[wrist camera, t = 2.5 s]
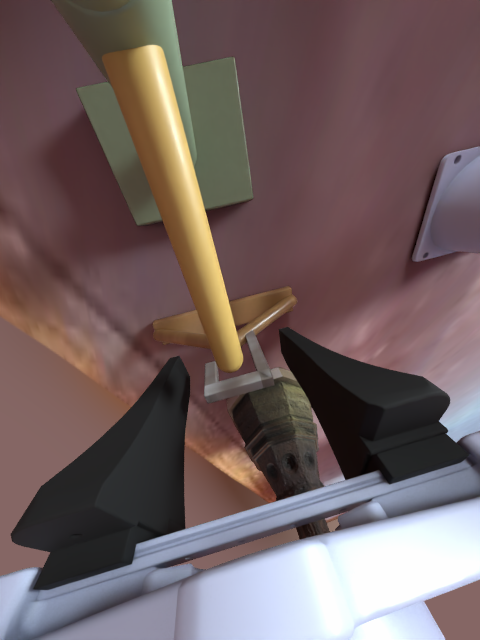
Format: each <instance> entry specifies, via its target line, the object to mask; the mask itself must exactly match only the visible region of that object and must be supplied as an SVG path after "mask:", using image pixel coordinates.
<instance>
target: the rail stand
mask: <svg viewBox="0 0 480 640" xmlns="http://www.w3.org/2000/svg"><path fill="white" fill-rule="evenodd" d="M51 1H52V3H53V4H54V5H55V7H56V8H57V10H58V11H59V13H60V14H61V15H62V17H63V18H64V20H65V21H66V23H67V24H68V25H69V27H70V28H71V30H72V31H73V32H74V34H75V35H76V37H77V38H78V40H79V41H80V42H81V44H82V45H83V47H84V48H85V50H86V51H87V52H88V54H89V55H90V57H91V58H92V60H93V61H94V62H95V64H96V65H97V67H98V68H99V70H100V71H101V72H102V74H103V75H104V77H105V78H106V80H107V81H108V82H104V83H99V84H94V85H89V86H84V87H79V88H76V91H77V93H78V96H79V98H80V100H81V102H82V105H83V107H84V109H85V111H86V114H87V116H88V118H89V120H90V122H91V125H92V127H93V129H94V131H95V134H96V136H97V138H98V140H99V142H100V145H101V147H102V149H103V151H104V154H105V156H106V158H107V160H108V162H109V165H110V167H111V169H112V171H113V174H114V176H115V178H116V180H117V183H118V185H119V187H120V189H121V191H122V194H123V196H124V198H125V200H126V203H127V205H128V207H129V209H130V211H131V214H132V216H133V218H134V220H135V223H136V225H137V226H144V225H149V224H153V223H157V222H161V221H163V223H164V226H165V228H166V231H167V234H168V236H169V239H170V241H171V244H172V247H173V249H174V252H175V255H176V257H177V260H178V263H179V265H180V268H181V271H182V273H183V276H184V279H185V281H186V284H187V287H188V289H189V292H190V295H191V297H192V300H193V303H194V305H195V308H196V310H197V313H198V316H199V318H200V321H201V324H202V326H203V329H204V332H205V334H206V337H207V340H208V342H209V345H210V348H211V350H212V353H213V356H214V358H215V361H216V364H217V366H218V367H219V369H220V370H222V371H223V372H226V373H232V372H235V371H237V370H238V369H239V368H240V367H241V365H242V363H243V354H242V350H241V347H240V343H239V339H238V335H237V331H236V327H235V323H234V320H233V316H232V312H231V308H230V304H229V300H228V297H227V293H226V289H225V285H224V281H223V277H222V274H221V270H220V266H219V262H218V258H217V254H216V250H215V247H214V243H213V239H212V235H211V231H210V227H209V224H208V220H207V216H206V212H205V211H208V210H213V209H217V208H221V207H225V206H230V205H234V204H238V203H242V202H247V201H250V200H252V199H253V191H252V183H251V176H250V168H249V161H248V153H247V146H246V139H245V131H244V124H243V116H242V109H241V101H240V94H239V86H238V79H237V72H236V64H235V58H234V57H228V58H223V59H218V60H214V61H209V62H204V63H199V64H194V65H189V66H184V67H182V61H181V55H180V48H179V42H178V36H177V30H176V24H175V18H174V12H173V6H172V0H51Z"/></svg>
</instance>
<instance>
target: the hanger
mask: <svg viewBox="0 0 480 640" xmlns="http://www.w3.org/2000/svg"><path fill="white" fill-rule="evenodd" d="M229 304H230V308H231V312H232V316H233V320H234V323H235V326H238V325H242V324H245V323H248V324H247V325H246V326H244V327H243V328H241V329H240V330H238V331H237V335H238V339H239V343H240V347H242V346H243V345H244V344H245V343H247V344H248V347H249V350H250V353H251V356H252V359H253V362H254V365H255V368H256V372H252V373H248V374H245V375H241V376H237V377H234V378H230V379H226V380H223V381H219V376H218V367H217V364H216V362H215V361H214V362H210V363H206V364H205V384H204V397H205V399H206V401H207V403H212V402H216V401H219V400H223V399H227V398H230V397H234V396H237V395H241V394H245V393H248V392H252V391H255V390H259V389H262V388H266V387H270V386H274V379H273V375H272V373H271V370H270V368H269V366H268V363H267V361H266V359H265V356H264V354H263V352H262V349H261V347H260V345H259V342H258V340H257V338H256V335H257V334H258V333H260V332H261V331H262V330H263V329H265V328H266V327H267V326H269V325H270V324H271V323H273V322H274V321H275V320H276V319H278V318H279V317H280V316H282V315H283V314H284V313H287V312H291V311H293V306H294V305H296V304H297V299H296V297H295V296H294V295H292V289H291V288H290V287H289V286H287V287H283V288H279V289H276V290H272V291H268V292H264V293H260V294H256V295H252V296H248V297H244V298H240V299H237V300H233V301H229ZM249 322H250V323H249ZM152 325H153V327H154V329H155V331H154V333H153V338H154V339H155V340H156V341H161V342H162V343H163V345H165V344H169V343H174V344H181V345H187V346H193V347H200V348H206V349H211V348H210V345H209V342H208V340H207V337H206V334H205V332H204V329H203V326H202V324H201V321H200V318H199V316H198V313H197V310H194V311H190V312H186V313H182V314H178V315H174V316H170V317H166V318H163V319H159V320H155V321H154V322H153V324H152Z"/></svg>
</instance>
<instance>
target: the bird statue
mask: <svg viewBox="0 0 480 640" xmlns="http://www.w3.org/2000/svg"><path fill="white" fill-rule="evenodd" d="M271 373H272V375H273V379H274V386H270V387H266V388H262V389H259V390H255V391H252V392H248V393H245V394H241V395H237V396H234V397H230V398H228V400H227V410H228V413H229V415H230V417H231V418H232V420H233V422H234V424H235V426H236V428H237V430H238V431H239V433H240V435H241V436H242V438H243V440H244V442H245V447H244V448H245V449H246V451H247V453H248V455H249V457H250V459H251V460H252V462H254V464H255V466H256V467H257V469H258V470H259V471H262V472H263V474H264V476H265V477H266V479H267V481H268V482H269V484H270V486H271V487H272V489H273V491H274V492H275V494H276V496H277V498H276V501H279V500H282V499H286V498H289V497H292V496H295V495H299V494H302V493H305V492H308V491H312V490H315V489H318V488H322V487H324V485H323V484H322V483H321V482H320V480H319V471H318V462H317V454H316V452H317V451H318V450H319V447H318V434H317V425H316V424H315V423H313V416H312V411H311V407H312V406H311V404H310V402H309V400H308V398H307V396H306V394H305V393H304V391H303V390H302V388H301V386H300V385H299V383H298V382H297V380H296V378H295V377H294V375H293V374H292V372H291V371H288V370H285V369H282V368H279V367H277V368H274V369H271ZM296 529H297V532H298V535H299V539H304V538H308V537H312V536H316V535H320V534H324V533H329V532H330V531H329V528H328V526H327V523H326V521H325V519H322V520H318V521H315V522H312V523H309V524H305V525H302V526H299V527H296Z"/></svg>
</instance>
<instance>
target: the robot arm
mask: <svg viewBox="0 0 480 640" xmlns="http://www.w3.org/2000/svg"><path fill="white" fill-rule="evenodd" d="M458 251H462V252H472V253H480V146H479V147H475V148H470V149H466V150H462V151H458V152H453V153H450V154H447V155H446V156H445V157H443V159H442V160H441V162H440V165H439V168H438V172H437V175H436V178H435V182H434V185H433V189H432V192H431V195H430V199H429V202H428V205H427V209H426V212H425V216H424V219H423V222H422V226H421V229H420V232H419V236H418V239H417V243H416V246H415V249H414V253H413V256H412V260H413V261H416V262H419V261H423V260H427V259H431V258H435V257H439V256H443V255H446V254H450V253H454V252H458ZM279 334H280V344H281V352H282V355H283V357H284V359H285V361H286V363H287V365H288V367H289V369H290V370H291V372H292V374H293V375H294V377H295V378H296V380H297V382H298V383H299V385H300V386H301V388H302V390H303V391H304V393H305V394H306V396H307V398H308V400H309V402H310V404H311V406H312V408H313V410H314V412H315V414H316V416H317V418H318V420H319V422H320V424H321V426H322V428H323V430H324V433H325V435H326V437H327V439H328V441H329V444H330V446H331V448H332V450H333V452H334V455H335V457H336V459H337V461H338V464H339V466H340V468H341V471H342V473H343V475H344V478H345V481H341V482H338V483H335V484H331V485H328V486H325V487H322V488H318V489H315V490H312V491H308V492H305V493H302V494H299V495H295V496H292V497H289V498H286V499H282V500H279V501H276V502H272V503H269V504H266V505H263V506H259V507H256V508H253V509H250V510H246V511H243V512H240V513H236V514H233V515H230V516H227V517H223V518H220V519H217V520H213V521H210V522H207V523H203V524H200V525H197V526H194V527H190V528H187V529H185V506H184V445H185V428H186V420H187V413H188V405H189V397H190V376H189V374H188V372H187V370H186V368H185V366H184V364H183V362H182V360H181V358H180V356H176V357H173V358H170V359H169V360H168V362H167V363H166V364H165V366H164V367H163V368H162V370H161V371H160V372H159V374H158V375H157V376H156V378H155V379H154V380H153V382H152V383H151V384H150V386H149V387H148V388H147V389H146V391H145V392H144V393H143V394H142V396H141V397H140V398H139V399H138V400H137V402H136V403H135V404H134V405H133V406H132V407H131V408H130V409H129V410H128V412H127V413H126V414H125V415H124V416H123V417H122V418H121V419H120V420H119V421H118V422H117V423H116V424H115V425H114V426H113V427H111V429H109V431H107V432H106V433H105V434H104V435H103V436H102V437H101V438H100V439H99V440H98V441H96V442H95V443H94V444H93V445H92V446H91V447H90V448H88V449H87V450H86V451H85V452H84V453H83V454H81V455H80V456H79V457H78V458H77V459H75V460H74V461H73V462H72V463H71V464H69V465H68V466H67V467H65V468H64V469H63V470H62V471H60V472H59V473H58V474H56V475H55V476H54V477H53V478H51V479H50V480H49V481H48V482H46V483H45V484H44V485H42V486H41V488H40V489H39V491H38V492H37V494H36V495H35V497H34V498H33V500H32V502H31V503H30V505H29V506H28V508H27V509H26V511H25V513H24V514H23V516H22V517H21V519H20V520H19V522H18V524H17V525H16V527H15V528H14V530H13V531H12V533H11V538H12V541H13V542H14V543H15V544H18V545H21V546H24V547H29V548H34V549H38V550H43V551H48V552H50V555H49V557H48V559H47V561H46V563H45V565H44V567H43V568H37V567H34V568H27V569H23V570H19V571H16V572H13V573H9V574H7V575H3V576H0V640H445V638H444V636H443V634H442V633H441V631H440V629H439V627H438V626H437V624H436V622H435V620H434V619H433V617H432V615H431V614H430V612H429V610H428V608H427V607H426V605H425V603H424V601H425V600H427V599H430V598H433V597H435V596H438V595H440V594H443V593H446V592H448V591H451V590H453V589H456V588H459V587H461V586H464V585H467V584H469V583H472V582H475V581H477V580H480V431H478V432H475V433H472V434H469V435H466V436H465V437H463V438H461V439H460V440H459V441H458V442H457V443H456V442H455V441H453V440H452V439H451V438H450V437H449V436H448V435H447V434H445V433H447V432H448V430H447V428H446V427H444V426H443V425H442V424H441V423H440V422H439V420H440V418H441V417H442V415H443V414H444V413H445V411H446V410H447V408H448V406H449V404H450V397H449V396H448V394H447V393H445V392H444V391H442V390H441V389H440V388H438V387H437V386H435V385H434V384H433V383H431V382H430V381H428V380H427V379H425V378H424V377H421V376H417V375H412V374H407V373H402V372H397V371H393V370H389V369H385V368H381V367H377V366H373V365H370V364H367V363H363V362H360V361H357V360H354V359H351V358H348V357H346V356H343V355H341V354H338V353H336V352H333V351H331V350H329V349H327V348H325V347H322V346H320V345H318V344H316V343H314V342H313V341H311V340H309V339H307V338H305V337H304V336H302V335H300V334H299V333H297V332H295V331H294V330H292V329H290V328H289V327H286V328H282V329H279ZM347 511H348V512H347ZM344 512H346V513H344ZM341 513H344V514H342V515H340V516H338V522H339V524H340V525H339V526H338V527H337V528H336V529H335V531H333V532H329V533H324V534H320V535H316V536H312V537H308V538H304V539H300V540H296V541H292V542H288V543H285V544H281V545H278V546H275V547H271V548H268V549H265V550H261V551H258V552H255V553H252V554H248V555H245V556H242V557H240V558H237V559H234V560H231V561H228V562H225V563H222V564H220V565H217V566H214V567H212V568H209V569H207V570H206V569H198V568H195V567H193V566H192V564H186V565H179V566H174V565H177V564H181V563H184V562H187V561H190V560H193V559H196V558H200V557H203V556H206V555H209V554H213V553H215V552H219V551H222V550H225V549H228V548H232V547H235V546H238V545H241V544H245V543H248V542H251V541H254V540H257V539H261V538H264V537H267V536H270V535H273V534H277V533H280V532H283V531H286V530H289V529H293V528H296V527H299V526H302V525H305V524H309V523H312V522H315V521H318V520H322V519H325V518H328V517H331V516H334V515H338V514H341ZM171 566H174V567H171Z"/></svg>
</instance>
